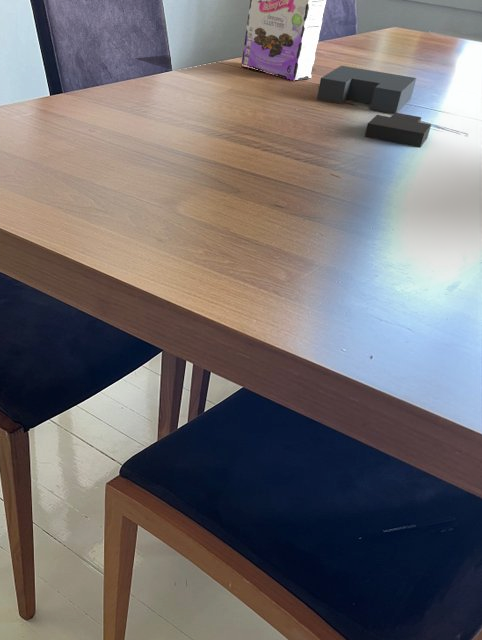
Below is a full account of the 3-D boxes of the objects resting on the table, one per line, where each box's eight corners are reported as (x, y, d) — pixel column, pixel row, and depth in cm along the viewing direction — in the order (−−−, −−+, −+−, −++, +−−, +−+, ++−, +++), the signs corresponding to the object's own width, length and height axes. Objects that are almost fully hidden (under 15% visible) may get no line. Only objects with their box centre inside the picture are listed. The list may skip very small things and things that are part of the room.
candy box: (239, 67, 146) (252, -31, 136) (258, 64, 150) (272, -31, 140) (293, 82, 139) (312, -21, 129) (312, 79, 142) (331, -21, 132)
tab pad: (428, 144, 111) (435, 119, 109) (416, 159, 104) (424, 133, 102) (375, 134, 113) (381, 109, 111) (361, 148, 106) (367, 123, 104)
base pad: (410, 98, 135) (416, 77, 132) (395, 114, 124) (401, 91, 122) (336, 85, 139) (341, 65, 137) (316, 99, 129) (320, 77, 127)
